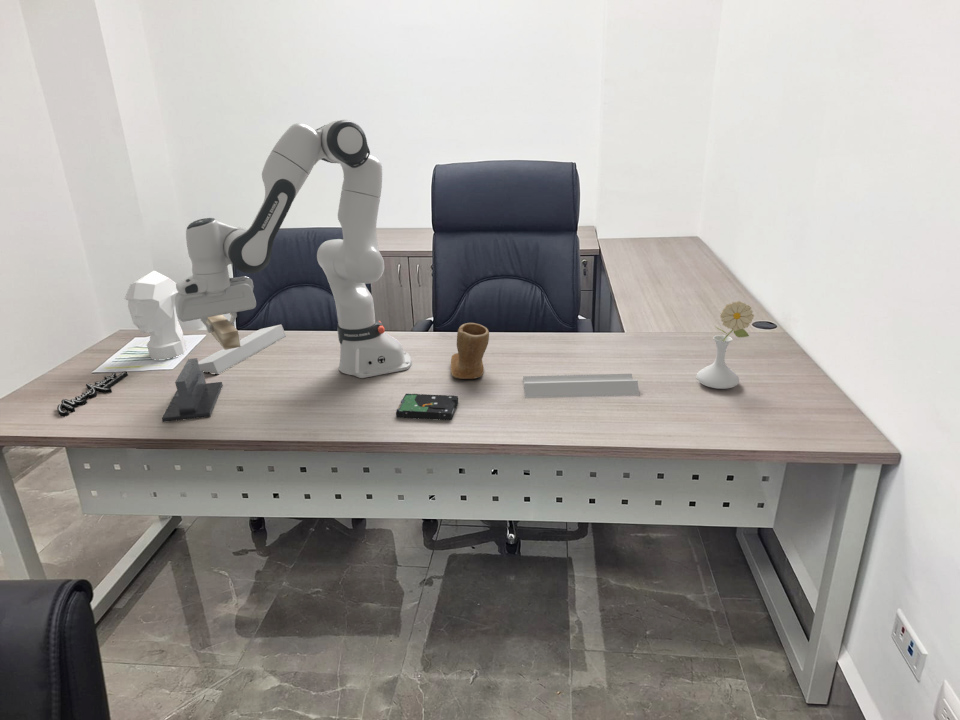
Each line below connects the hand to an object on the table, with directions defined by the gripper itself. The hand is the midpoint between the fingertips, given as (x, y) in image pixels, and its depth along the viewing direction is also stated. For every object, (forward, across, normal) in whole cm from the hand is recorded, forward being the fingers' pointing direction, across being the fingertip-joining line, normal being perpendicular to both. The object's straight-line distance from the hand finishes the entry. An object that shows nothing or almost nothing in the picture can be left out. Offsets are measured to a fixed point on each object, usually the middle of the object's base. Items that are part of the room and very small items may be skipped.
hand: (221, 329), depth 173 cm
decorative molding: (+20, -11, -32) cm, 39 cm away
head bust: (+20, +11, -45) cm, 51 cm away
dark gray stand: (+20, +10, -2) cm, 23 cm away
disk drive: (+20, -40, +42) cm, 62 cm away
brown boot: (+19, -63, +28) cm, 72 cm away
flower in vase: (+18, -113, +79) cm, 139 cm away
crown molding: (+19, -81, +57) cm, 101 cm away
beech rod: (+2, 0, 0) cm, 2 cm away
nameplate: (+21, +33, -27) cm, 48 cm away
